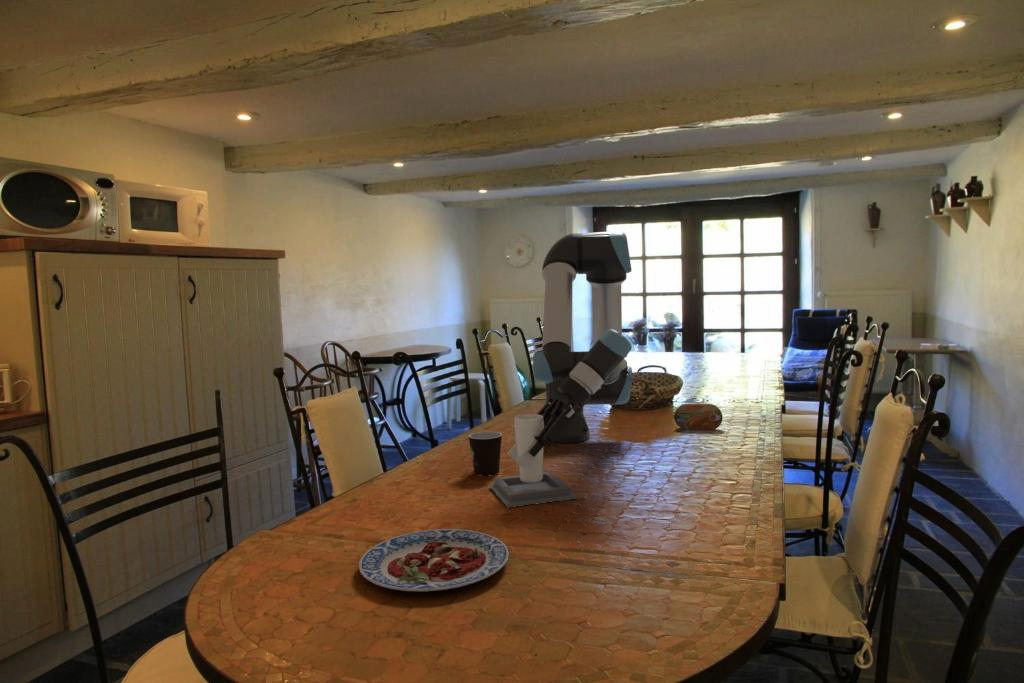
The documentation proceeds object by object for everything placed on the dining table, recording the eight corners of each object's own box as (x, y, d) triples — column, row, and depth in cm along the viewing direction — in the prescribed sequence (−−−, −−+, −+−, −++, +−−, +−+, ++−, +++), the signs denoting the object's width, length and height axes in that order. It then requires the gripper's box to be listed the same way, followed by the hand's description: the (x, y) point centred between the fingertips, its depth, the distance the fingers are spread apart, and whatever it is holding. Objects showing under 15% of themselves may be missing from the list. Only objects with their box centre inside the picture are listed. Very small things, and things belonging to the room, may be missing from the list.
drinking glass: (546, 476, 159) (544, 413, 158) (545, 484, 152) (542, 419, 151) (518, 476, 160) (515, 414, 158) (515, 484, 153) (512, 419, 152)
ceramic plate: (436, 530, 135) (435, 516, 135) (538, 560, 119) (538, 543, 119) (328, 576, 115) (327, 559, 115) (433, 619, 99) (432, 599, 99)
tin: (674, 429, 218) (673, 403, 218) (674, 427, 221) (674, 402, 221) (722, 430, 214) (722, 404, 213) (722, 428, 217) (722, 403, 216)
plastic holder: (489, 487, 162) (489, 477, 161) (552, 480, 166) (552, 470, 166) (507, 508, 146) (507, 497, 146) (576, 499, 151) (575, 488, 150)
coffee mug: (499, 478, 169) (497, 439, 169) (466, 477, 171) (464, 438, 170) (508, 465, 181) (507, 429, 180) (477, 465, 182) (476, 428, 182)
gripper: (607, 402, 149) (540, 482, 146) (575, 390, 168) (515, 461, 165) (584, 380, 147) (515, 461, 144) (555, 370, 166) (493, 441, 163)
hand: (515, 461), depth 155 cm, fingers closed on drinking glass, 6 cm apart
